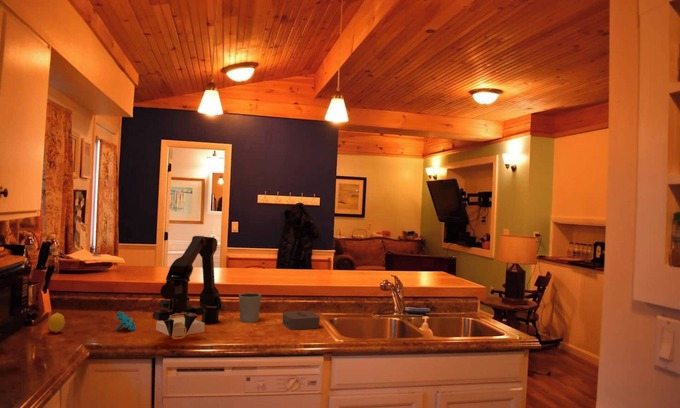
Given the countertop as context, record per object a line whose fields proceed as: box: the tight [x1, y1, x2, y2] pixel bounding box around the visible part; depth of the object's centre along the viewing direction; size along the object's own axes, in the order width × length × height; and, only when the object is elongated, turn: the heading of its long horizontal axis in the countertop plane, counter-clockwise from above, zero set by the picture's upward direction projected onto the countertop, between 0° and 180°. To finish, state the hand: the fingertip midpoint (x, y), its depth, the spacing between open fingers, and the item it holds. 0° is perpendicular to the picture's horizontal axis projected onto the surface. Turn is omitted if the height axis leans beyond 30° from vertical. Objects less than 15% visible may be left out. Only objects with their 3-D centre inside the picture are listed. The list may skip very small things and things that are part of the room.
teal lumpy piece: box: [115, 311, 137, 332], centre depth 197 cm, size 11×6×10 cm
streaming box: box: [281, 310, 321, 331], centre depth 218 cm, size 14×14×5 cm
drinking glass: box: [238, 292, 262, 324], centre depth 223 cm, size 10×10×12 cm
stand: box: [155, 316, 206, 337], centre depth 199 cm, size 14×14×4 cm
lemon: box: [47, 312, 66, 334], centre depth 188 cm, size 6×6×8 cm
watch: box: [171, 323, 187, 340], centre depth 184 cm, size 6×3×6 cm, turn 114°
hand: (178, 335), depth 184 cm, fingers closed on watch, 6 cm apart
